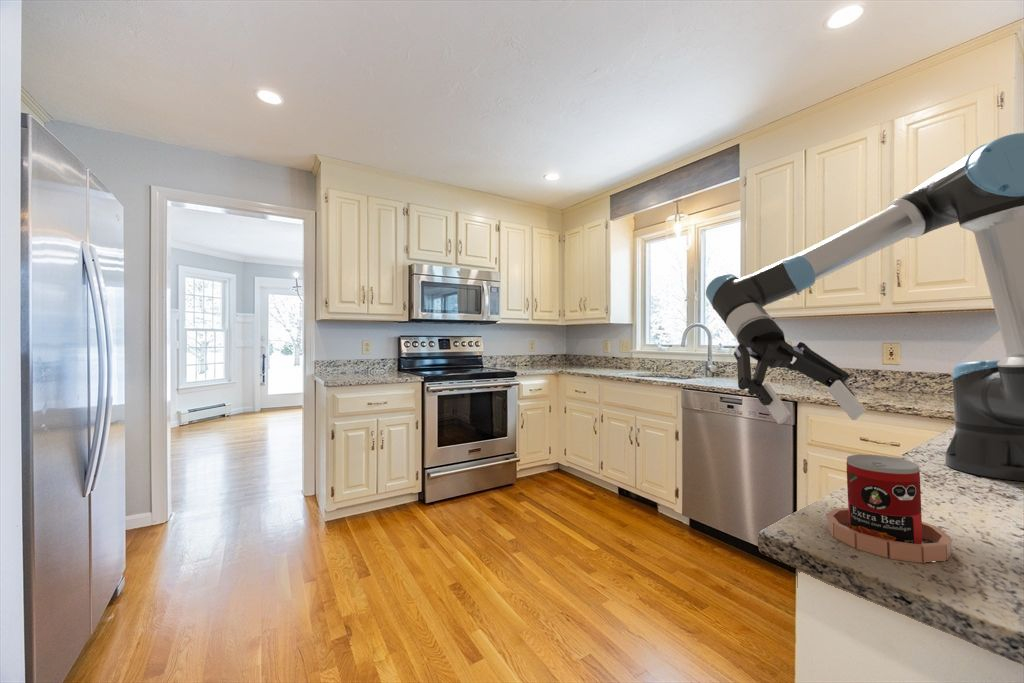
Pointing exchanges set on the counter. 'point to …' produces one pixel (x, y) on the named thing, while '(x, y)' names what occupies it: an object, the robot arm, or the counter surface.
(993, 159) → the robot arm
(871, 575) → the counter surface
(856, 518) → the canned food
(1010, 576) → the counter surface
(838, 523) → the ring
